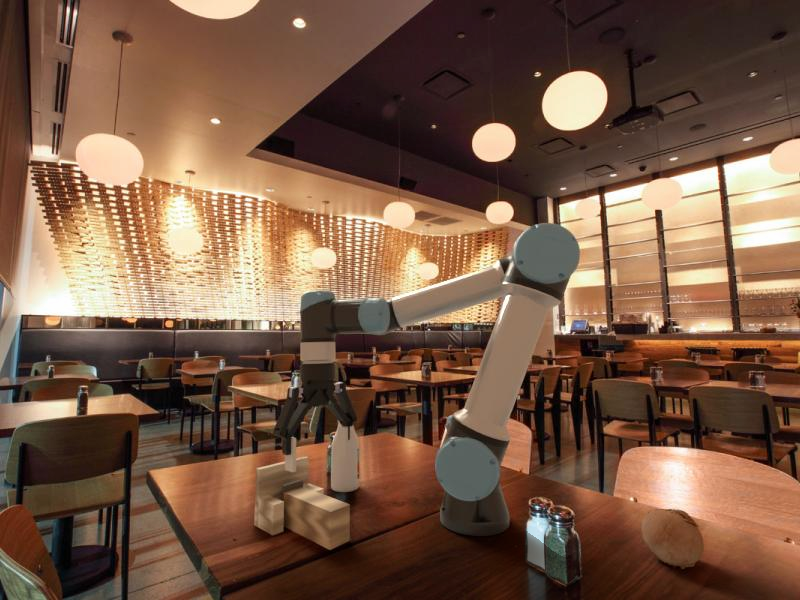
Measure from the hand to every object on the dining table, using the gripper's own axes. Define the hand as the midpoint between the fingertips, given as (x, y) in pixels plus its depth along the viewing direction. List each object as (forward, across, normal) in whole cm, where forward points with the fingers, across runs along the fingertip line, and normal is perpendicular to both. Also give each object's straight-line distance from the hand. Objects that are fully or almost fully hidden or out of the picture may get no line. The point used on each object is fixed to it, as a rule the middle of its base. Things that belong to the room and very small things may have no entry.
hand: (318, 463), depth 88 cm
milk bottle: (+14, -22, -17) cm, 31 cm away
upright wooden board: (+14, 0, -10) cm, 17 cm away
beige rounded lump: (+16, -36, +57) cm, 69 cm away
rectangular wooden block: (+14, 0, -1) cm, 14 cm away
